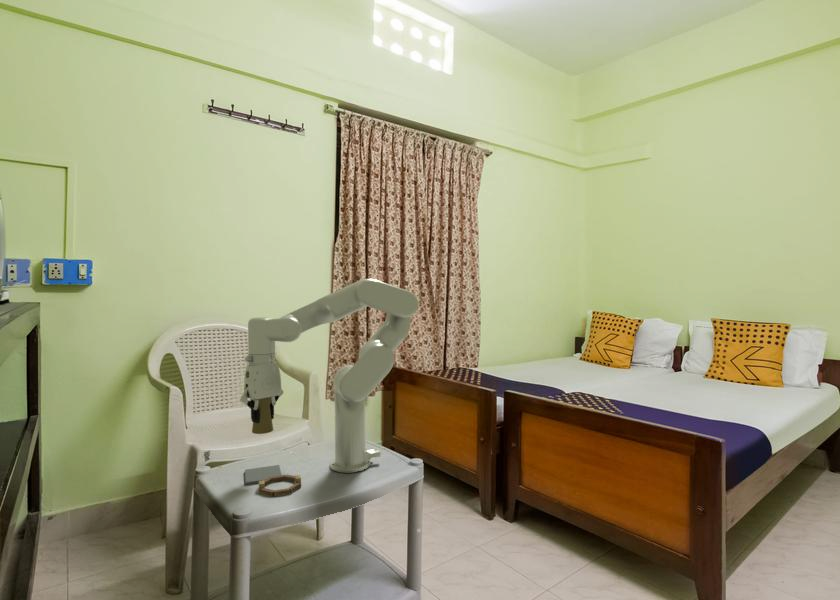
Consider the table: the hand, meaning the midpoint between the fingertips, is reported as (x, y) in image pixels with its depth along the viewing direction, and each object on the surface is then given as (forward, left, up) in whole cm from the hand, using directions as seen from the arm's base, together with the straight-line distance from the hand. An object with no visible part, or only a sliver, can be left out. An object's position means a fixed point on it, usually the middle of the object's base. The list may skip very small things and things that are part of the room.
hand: (262, 419), depth 136 cm
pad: (0, 0, -17) cm, 17 cm away
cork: (0, 0, -3) cm, 3 cm away
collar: (-4, +10, -17) cm, 20 cm away
